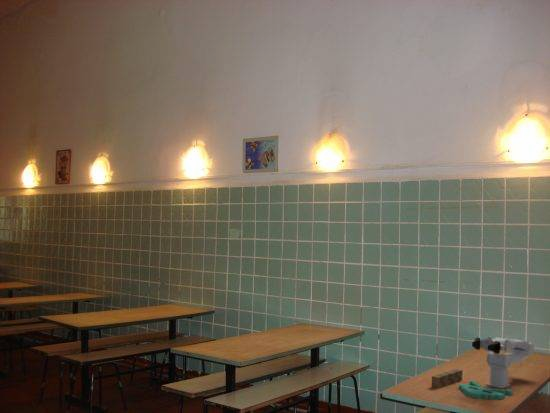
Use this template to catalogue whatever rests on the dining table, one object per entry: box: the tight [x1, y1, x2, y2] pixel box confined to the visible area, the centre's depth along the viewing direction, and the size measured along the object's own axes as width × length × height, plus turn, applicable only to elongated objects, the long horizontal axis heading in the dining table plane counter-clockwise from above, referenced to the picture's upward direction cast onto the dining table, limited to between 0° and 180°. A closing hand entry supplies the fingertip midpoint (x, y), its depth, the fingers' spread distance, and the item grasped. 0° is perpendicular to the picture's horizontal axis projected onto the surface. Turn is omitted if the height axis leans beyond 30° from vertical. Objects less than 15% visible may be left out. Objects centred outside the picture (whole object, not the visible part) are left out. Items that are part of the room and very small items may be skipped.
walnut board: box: [431, 368, 463, 389], centre depth 272 cm, size 24×3×5 cm, turn 133°
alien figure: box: [458, 380, 514, 401], centre depth 259 cm, size 20×2×20 cm
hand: (480, 345), depth 260 cm, fingers open, 7 cm apart
